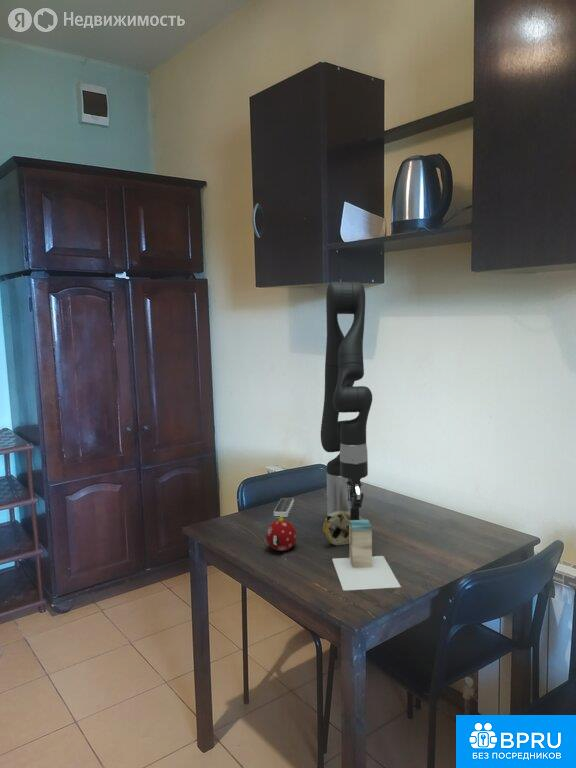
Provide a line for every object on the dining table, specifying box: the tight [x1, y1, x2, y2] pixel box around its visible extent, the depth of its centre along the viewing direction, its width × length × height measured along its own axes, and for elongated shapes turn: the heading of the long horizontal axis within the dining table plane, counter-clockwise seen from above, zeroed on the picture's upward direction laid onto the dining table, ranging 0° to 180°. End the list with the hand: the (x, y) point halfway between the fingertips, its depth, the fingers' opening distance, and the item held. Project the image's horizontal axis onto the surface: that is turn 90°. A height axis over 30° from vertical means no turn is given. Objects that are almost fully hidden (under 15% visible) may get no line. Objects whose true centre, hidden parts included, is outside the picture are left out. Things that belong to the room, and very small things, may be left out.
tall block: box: [348, 519, 373, 568], centre depth 150 cm, size 5×5×11 cm
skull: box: [322, 511, 365, 546], centre depth 166 cm, size 10×16×10 cm, turn 134°
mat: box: [331, 555, 402, 592], centre depth 146 cm, size 18×14×1 cm
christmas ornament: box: [265, 516, 298, 552], centre depth 162 cm, size 9×9×10 cm
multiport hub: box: [273, 497, 295, 518], centre depth 196 cm, size 4×14×2 cm, turn 170°
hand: (354, 520), depth 159 cm, fingers closed
